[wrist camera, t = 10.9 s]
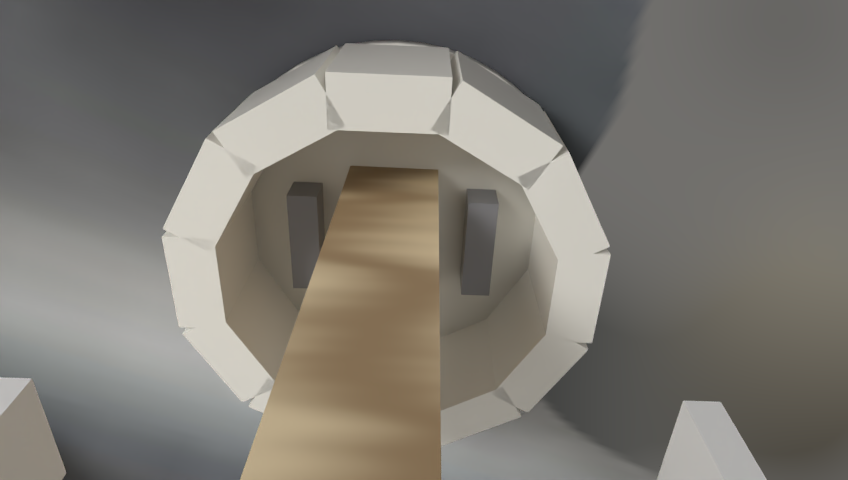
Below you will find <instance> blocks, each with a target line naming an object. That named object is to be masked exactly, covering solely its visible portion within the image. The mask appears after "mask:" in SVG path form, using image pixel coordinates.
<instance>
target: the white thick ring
mask: <svg viewBox="0 0 848 480" xmlns="http://www.w3.org/2000/svg"><path fill="white" fill-rule="evenodd" d="M350 166H371V167H393V168H414V169H436V170H438V191H439V302H440V412H441V446H444V445H446V444H449V443H452V442H455V441H457V440H460V439H463V438H465V437H468V436H471V435H474V434H476V433H479V432H482V431H485V430H487V429H490V428H493V427H495V426H498V425H501V424H504V423H506V422H509V421H512V420H514V419H517V418H520V417H521V413H520V409H521V410H523V411H525V412H527V413H528V412H529V411H530V410H531V409H532V408H533V407H534V406H535V405H536V404H537V403H538V402H539V401H540V400H541V399H542V397H543V396H544V395H545V394H546V393H547V392H548V391H549V390H550V389H551V388H552V387H553V386H554V385H555V384H556V383H557V382H558V381H559V380H560V379H561V378H562V377H563V376H564V375H565V374H566V372H567V371H568V370H569V369H570V368H571V367H572V366H573V365H574V364H575V363H576V362H577V361H578V360H579V359H580V358H581V357H582V356H583V355H584V354H585V353H586V352H587V351H588V347H587V345H586V343H592V341H593V336H594V331H595V327H596V322H597V318H598V313H599V308H600V304H601V298H602V294H603V290H604V285H605V280H606V275H607V270H608V266H609V261H610V257H611V254H610V252H609V251H608V247H610V245H609V243H608V241H607V238H606V236H605V234H604V231H603V229H602V227H601V225H600V222H599V220H598V217H597V215H596V213H595V211H594V208H593V206H592V204H591V202H590V199H589V197H588V194H587V192H586V190H585V188H584V185H583V183H582V181H581V178H580V176H579V174H578V171H577V169H576V167H575V165H574V162H573V160H572V158H571V155H570V153H569V151H568V150H567V148H566V146H565V145H564V143H563V141H562V140H561V138H560V136H559V134H558V133H557V131H556V129H555V128H554V126H553V124H552V123H551V121H550V119H549V118H548V116H547V114H546V113H545V111H544V112H543V110H542V109H541V107H540V105H539V104H537V103H536V102H534V101H533V100H531V99H530V98H528V97H527V96H525V95H524V94H523V93H522V92H521V91H520V90H519V89H518V88H517V87H516V86H515V85H513V84H512V83H511V82H509V81H508V80H507V79H506V78H504V77H503V76H502V75H500V74H499V73H498V72H496V71H495V70H493V69H491V68H490V67H488V66H486V65H484V64H483V63H481V62H479V61H477V60H476V59H474V58H471V57H469V56H466V55H464V54H462V53H460V52H459V51H454V50H451V49H449V48H446V47H440V46H436V45H432V44H428V43H423V42H414V41H405V40H372V41H366V42H360V43H354V44H352V43H345V45H344V46H341V47H338V46H335V47H333V48H331V49H329V50H328V51H325V52H322V53H320V54H318V55H316V56H314V57H312V58H310V59H307V60H305V61H303V62H301V63H299V64H298V65H296V66H295V67H293V68H292V69H290V70H289V71H287V72H286V73H284V74H283V75H281V76H280V77H279V78H278V79H276V80H275V81H273V82H271V83H269V84H267V85H266V86H264V87H262V88H260V89H259V90H257V91H255V92H253V93H252V94H251V95H250V96H249V97H248V98H247V99H246V100H245V101H244V102H242V103H241V104H240V105H239V106H238V107H237V108H236V109H235V110H234V111H233V112H232V113H231V114H230V115H229V116H228V117H227V118H226V119H225V120H224V121H222V122H221V123H220V124H219V125H218V126H217V127H216V128H215V129H214V130H213V131H212V133H211V134H210V135H208V136H207V137H206V139H205V141H204V143H203V145H202V147H201V149H200V151H199V153H198V155H197V158H196V160H195V162H194V164H193V166H192V168H191V170H190V172H189V174H188V177H187V179H186V181H185V183H184V185H183V187H182V189H181V191H180V193H179V196H178V198H177V200H176V202H175V204H174V206H173V208H172V210H171V212H170V214H169V217H168V219H167V221H166V223H165V225H164V227H163V229H164V230H166V233H165V234H164V235H163V236H162V241H163V246H164V251H165V257H166V262H167V267H168V273H169V278H170V283H171V288H172V294H173V299H174V304H175V310H176V315H177V320H178V325H179V327H186V329H185V331H184V332H183V335H184V336H185V338H186V339H187V340H188V341H189V342H190V343H191V344H192V346H193V347H194V348H195V349H196V350H197V351H198V352H199V354H200V355H201V356H202V357H203V358H204V359H205V360H206V362H207V363H208V364H209V365H210V366H211V367H212V368H213V369H214V371H215V372H216V373H217V374H218V375H219V376H220V377H221V379H222V380H223V381H224V382H225V383H226V384H227V385H228V387H229V388H230V389H231V390H232V391H233V392H234V393H235V394H236V396H237V397H238V398H239V399H240V400H241V401H242V402H244V401H246V400H249V399H251V398H252V399H251V402H250V404H249V407H250V408H253V409H255V410H257V411H259V412H262V413H264V410H265V408H266V405H267V402H268V399H269V396H270V393H271V390H272V388H273V385H274V382H275V379H276V376H277V373H278V371H279V368H280V365H281V362H282V359H283V356H284V353H285V351H286V348H287V345H288V342H289V339H290V336H291V334H292V331H293V328H294V325H295V322H296V319H297V316H298V314H299V311H300V308H301V305H302V302H303V299H304V297H305V294H306V291H307V288H308V285H309V282H310V279H311V277H312V274H313V271H314V268H315V265H316V262H317V260H318V257H319V254H320V251H321V248H322V245H323V242H324V240H325V237H326V234H327V231H328V228H329V225H330V223H331V220H332V217H333V214H334V211H335V208H336V205H337V203H338V200H339V197H340V194H341V191H342V188H343V186H344V183H345V180H346V177H347V174H348V171H349V168H350Z"/></svg>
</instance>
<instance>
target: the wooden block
mask: <svg viewBox="0 0 848 480" xmlns="http://www.w3.org/2000/svg"><path fill="white" fill-rule="evenodd" d="M240 480H441V412H440V302H439V191H438V170H436V169H414V168H393V167H371V166H350V168H349V171H348V174H347V177H346V180H345V183H344V186H343V188H342V191H341V194H340V197H339V200H338V203H337V205H336V208H335V211H334V214H333V217H332V220H331V223H330V225H329V228H328V231H327V234H326V237H325V240H324V242H323V245H322V248H321V251H320V254H319V257H318V260H317V262H316V265H315V268H314V271H313V274H312V277H311V279H310V282H309V285H308V288H307V291H306V294H305V297H304V299H303V302H302V305H301V308H300V311H299V314H298V316H297V319H296V322H295V325H294V328H293V331H292V334H291V336H290V339H289V342H288V345H287V348H286V351H285V353H284V356H283V359H282V362H281V365H280V368H279V371H278V373H277V376H276V379H275V382H274V385H273V388H272V390H271V393H270V396H269V399H268V402H267V405H266V408H265V410H264V413H263V416H262V419H261V422H260V425H259V427H258V430H257V433H256V436H255V439H254V442H253V445H252V447H251V450H250V453H249V456H248V459H247V462H246V464H245V467H244V470H243V473H242V476H241V479H240Z"/></svg>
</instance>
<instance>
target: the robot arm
mask: <svg viewBox="0 0 848 480" xmlns="http://www.w3.org/2000/svg"><path fill="white" fill-rule="evenodd" d="M65 474H66V470H65V467H64V464H63V462H62V459H61V456H60V454H59V451H58V448H57V445H56V443H55V440H54V437H53V435H52V432H51V429H50V426H49V424H48V421H47V418H46V415H45V413H44V410H43V407H42V405H41V402H40V399H39V396H38V394H37V391H36V388H35V386H34V383H33V380H32V379H31V378H2V377H0V480H62V479H63V478H64V476H65ZM657 480H767V479H766V478H765V476H764V474H763V473H762V471H761V469H760V468H759V466H758V464H757V462H756V461H755V459H754V457H753V456H752V454H751V452H750V451H749V449H748V447H747V445H746V444H745V442H744V440H743V439H742V437H741V435H740V434H739V432H738V430H737V429H736V427H735V425H734V424H733V422H732V420H731V418H730V417H729V415H728V413H727V412H726V410H725V408H724V407H723V405H722V403H721V402H710V401H683V403H682V406H681V409H680V412H679V415H678V418H677V421H676V424H675V427H674V430H673V433H672V436H671V439H670V442H669V445H668V448H667V451H666V454H665V457H664V460H663V463H662V466H661V469H660V472H659V474H658V477H657Z"/></svg>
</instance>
